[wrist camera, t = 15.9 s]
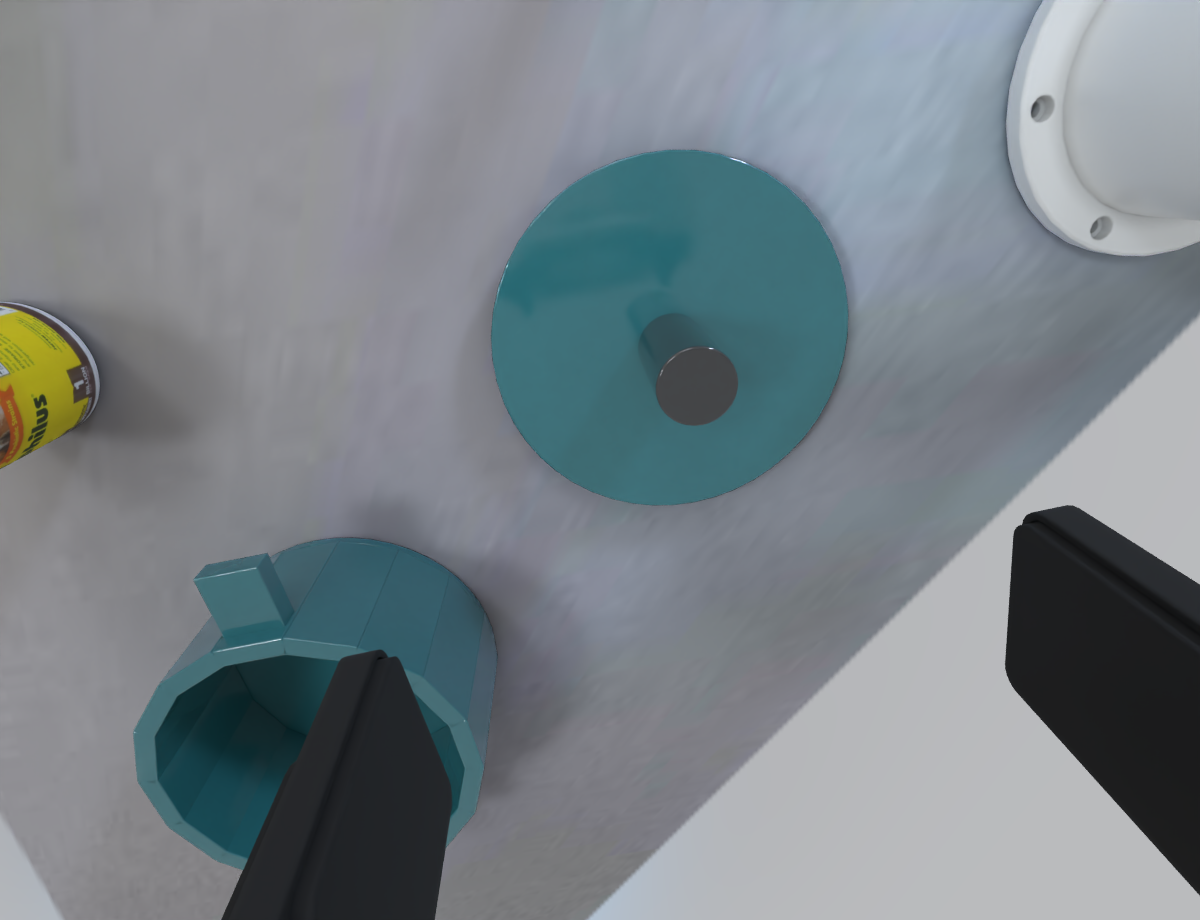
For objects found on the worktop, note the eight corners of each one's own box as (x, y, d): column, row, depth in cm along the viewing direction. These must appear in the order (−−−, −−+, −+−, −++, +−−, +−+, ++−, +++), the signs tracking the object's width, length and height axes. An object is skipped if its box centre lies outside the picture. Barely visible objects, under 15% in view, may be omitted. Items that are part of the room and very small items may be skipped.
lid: (829, 114, 25) (917, 97, 19) (844, 460, 31) (913, 532, 25) (451, 192, 26) (418, 200, 19) (537, 520, 31) (532, 605, 25)
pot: (439, 460, 30) (404, 547, 23) (534, 760, 38) (529, 892, 31) (148, 518, 30) (28, 620, 23) (301, 803, 38) (244, 944, 31)
